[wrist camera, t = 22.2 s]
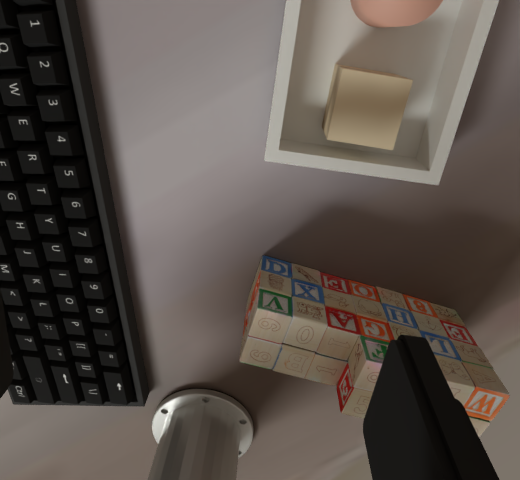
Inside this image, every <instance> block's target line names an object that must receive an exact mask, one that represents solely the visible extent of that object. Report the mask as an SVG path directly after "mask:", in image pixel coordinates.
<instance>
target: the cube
mask: <svg viewBox="0 0 520 480" xmlns="http://www.w3.org/2000/svg"><path fill="white" fill-rule="evenodd" d="M412 83H413V80H411V79H408V78H406V77H403V76H400V75H397V74H393V73H387V72H381V71H375V70H369V69H363V68H357V67H351V66H345V65H339V64H335V66H334V70H333V75H332V80H331V85H330V89H329V94H328V99H327V104H326V108H325V113H324V118H323V122H322V129H323V131H324V133H325V136H326V138H327V140H332V141H338V142H345V143H351V144H357V145H363V146H369V147H375V148H381V149H388V150H393V148H394V145H395V141H396V138H397V134H398V131H399V127H400V124H401V121H402V117H403V114H404V110H405V107H406V103H407V100H408V96H409V93H410V89H411V86H412Z"/></svg>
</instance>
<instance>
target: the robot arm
mask: <svg viewBox="0 0 520 480" xmlns="http://www.w3.org/2000/svg"><path fill="white" fill-rule="evenodd" d="M13 374H14V372H13V364H12V358H11V352H10V345H9V339H8V333H7V326H6V320H5V314H4V307H3V301H2V295H1V290H0V398H1V397H2V395H3V394H4V393H5V392H6V390H7V389H8V388H9V386H10V384H11V382H12V379H13ZM253 431H254V428H253V422H252V419H251V416H250V415H249V413H248V411H247V410H246V409H245V408H244V407H243V406H242V405H241V404H240V403H239V402H238V401H236V400H235V399H233V398H232V397H230V396H228V395H226V394H223V393H220V392H217V391H213V390H207V389H189V390H183V391H180V392H176V393H174V394H172V395H170V396H168V397H167V398H166V399H164V400H163V401H162V402H161V403H160V404H159V406H158V407H157V409H156V411H155V413H154V417H153V420H152V432H153V436H154V438H155V440H156V442H157V443H158V447H157V450H156V454H155V457H154V460H153V464H152V467H151V470H150V473H149V477H148V480H236V475H237V465H238V458H240V457H241V456H242V455H243V454H244V453H245V452H246V451H247V450H248V449H249V447H250V446H251V443H252V440H253ZM363 433H364V439H365V444H366V449H367V454H368V459H369V464H370V468H371V474H372V478H373V480H499V478H498V476H497V474H496V472H495V470H494V468H493V466H492V463H491V462H490V459H489V457H488V455H487V453H486V451H485V449H484V447H483V445H482V443H481V441H480V439H479V437H478V435H477V433H476V430H475V428H474V426H473V424H472V422H471V420H470V418H469V416H468V414H467V412H466V410H465V408H464V406H463V405H462V403H461V402H460V401H459V400H457V399H455V398H454V396H453V393H452V391H451V389H450V387H449V385H448V383H447V381H446V379H445V376H444V374H443V372H442V370H441V368H440V366H439V364H438V362H437V359H436V357H435V355H434V353H433V351H432V349H431V347H430V345H429V342H428V341H427V339H426V338H424V337H417V336H409V335H400V336H399V337H398V339H397V340H394V339H392V340H391V341H390V343H389V345H388V348H387V351H386V354H385V357H384V360H383V363H382V366H381V369H380V372H379V375H378V378H377V381H376V384H375V387H374V390H373V393H372V396H371V400H370V403H369V406H368V409H367V412H366V415H365V418H364V423H363Z"/></svg>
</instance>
